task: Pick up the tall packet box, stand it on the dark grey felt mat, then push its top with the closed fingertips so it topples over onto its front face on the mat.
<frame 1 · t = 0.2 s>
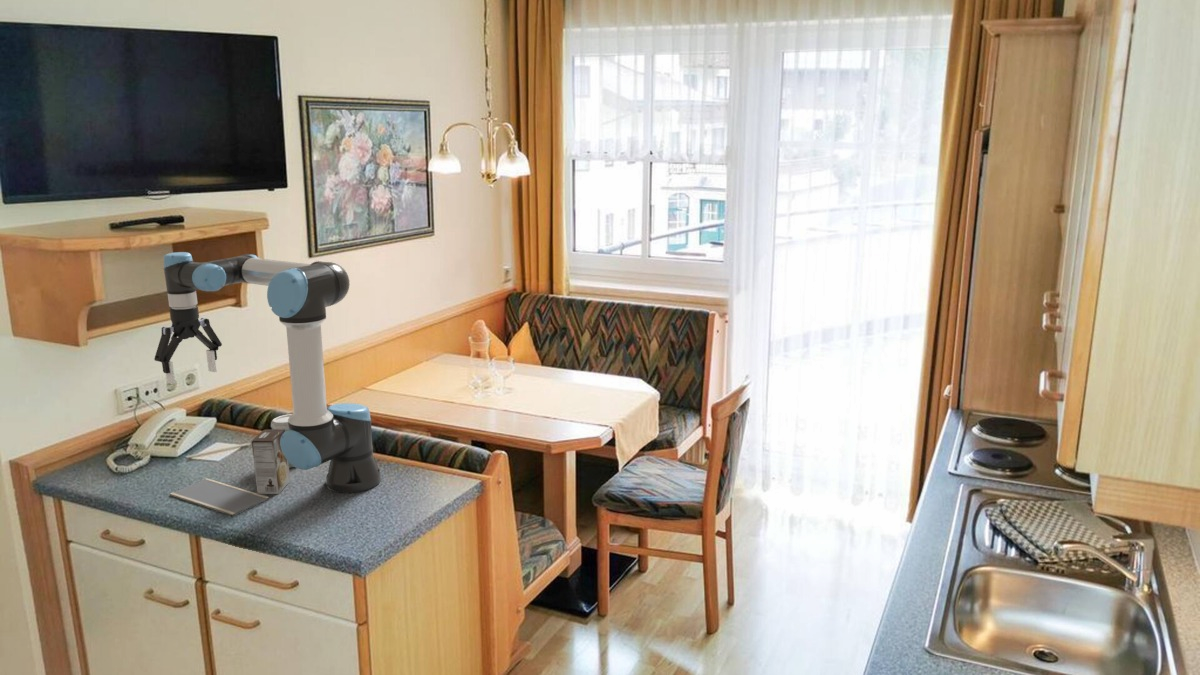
hand: (192, 377, 265), 28 cm above the worktop, fingers open, 13 cm apart
disposable coffee cup: (293, 464, 273), on the worktop
felt mat: (219, 497, 250), on the worktop
coffee box: (274, 488, 256), on the worktop
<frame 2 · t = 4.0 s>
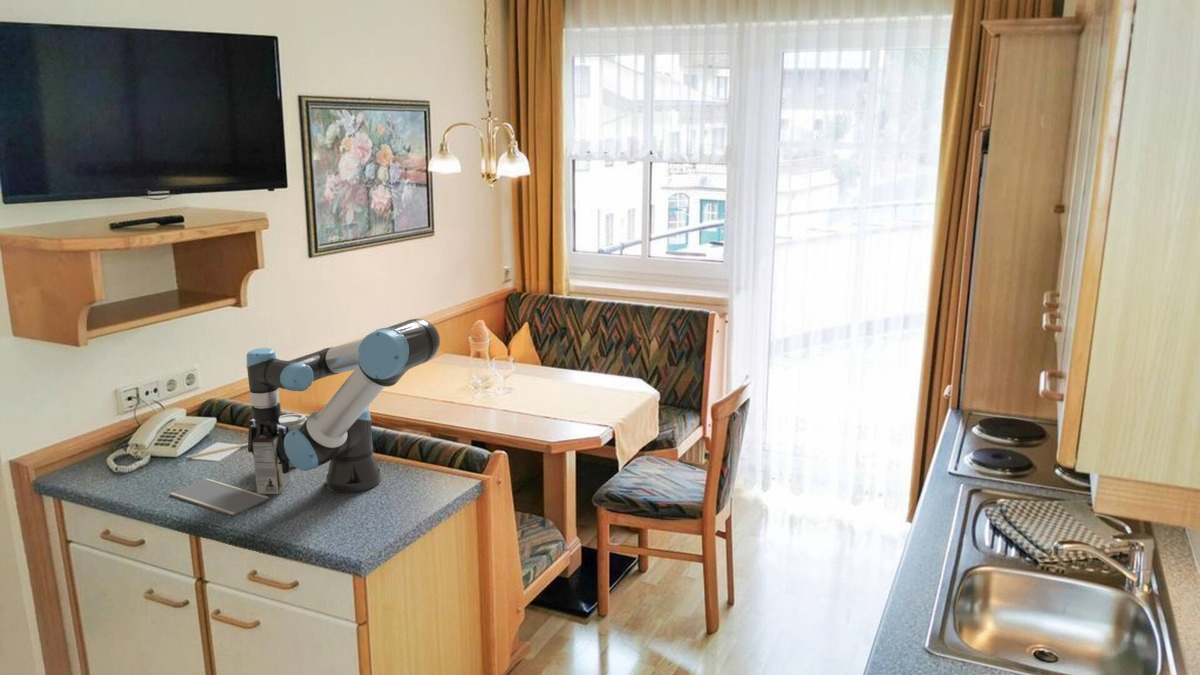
hand: (273, 479, 256), 2 cm above the worktop, fingers closed on coffee box, 9 cm apart
coffee box: (274, 488, 256), on the worktop, touching gripper
everything else where it was.
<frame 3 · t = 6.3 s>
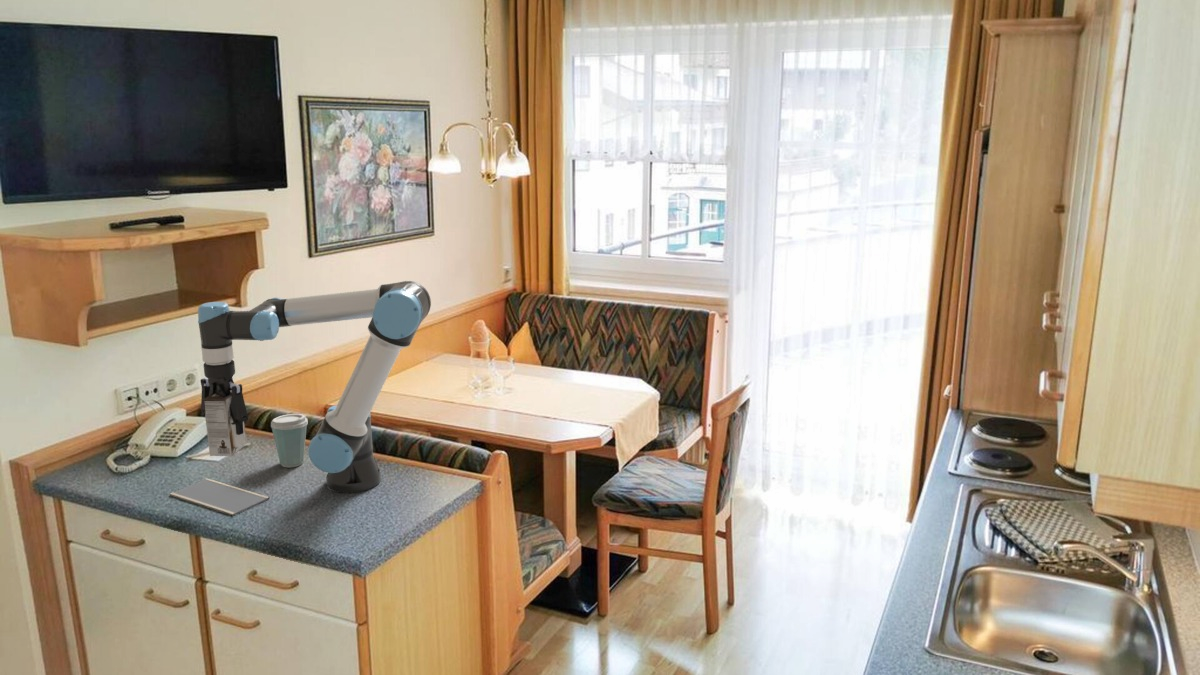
hand: (227, 441, 243), 17 cm above the worktop, fingers closed on coffee box, 8 cm apart
coffee box: (228, 450, 244), point 15 cm above the worktop, touching gripper
everything else where it was.
when the fingers open (4 cm above the worktop, at t = 8.7 s): coffee box drops 1 cm, resting on felt mat.
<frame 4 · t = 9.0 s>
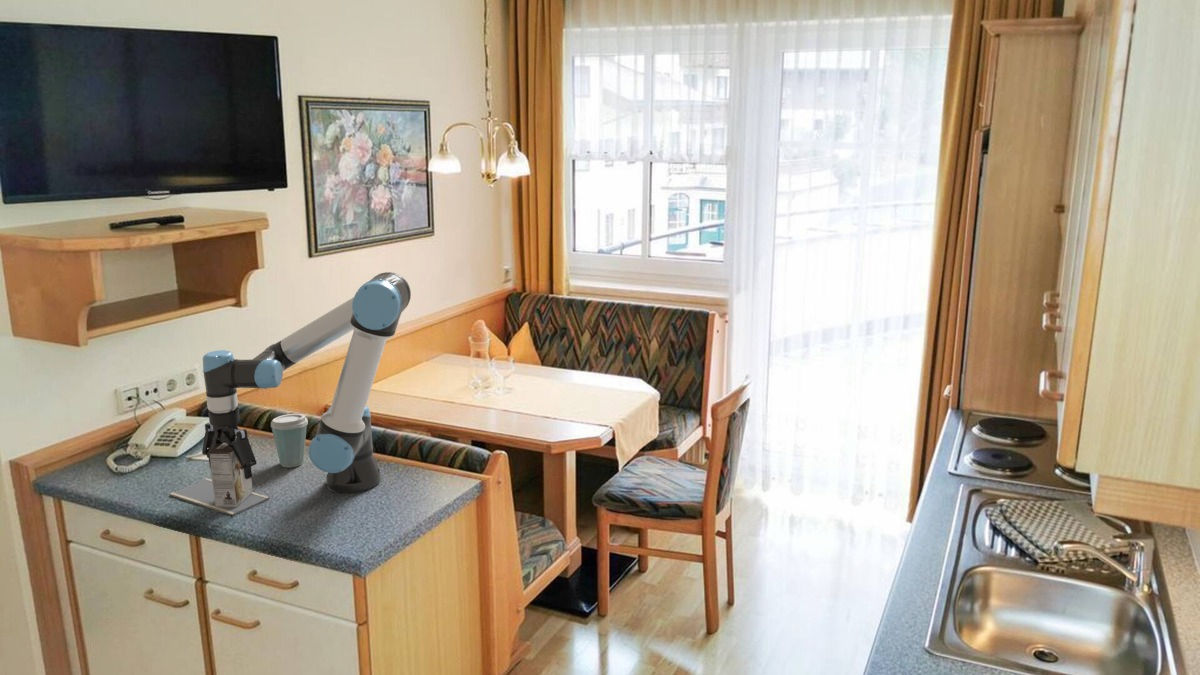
hand: (232, 484, 246), 5 cm above the worktop, fingers open, 11 cm apart
coffee box: (234, 500, 247), resting on felt mat
everything else where it was.
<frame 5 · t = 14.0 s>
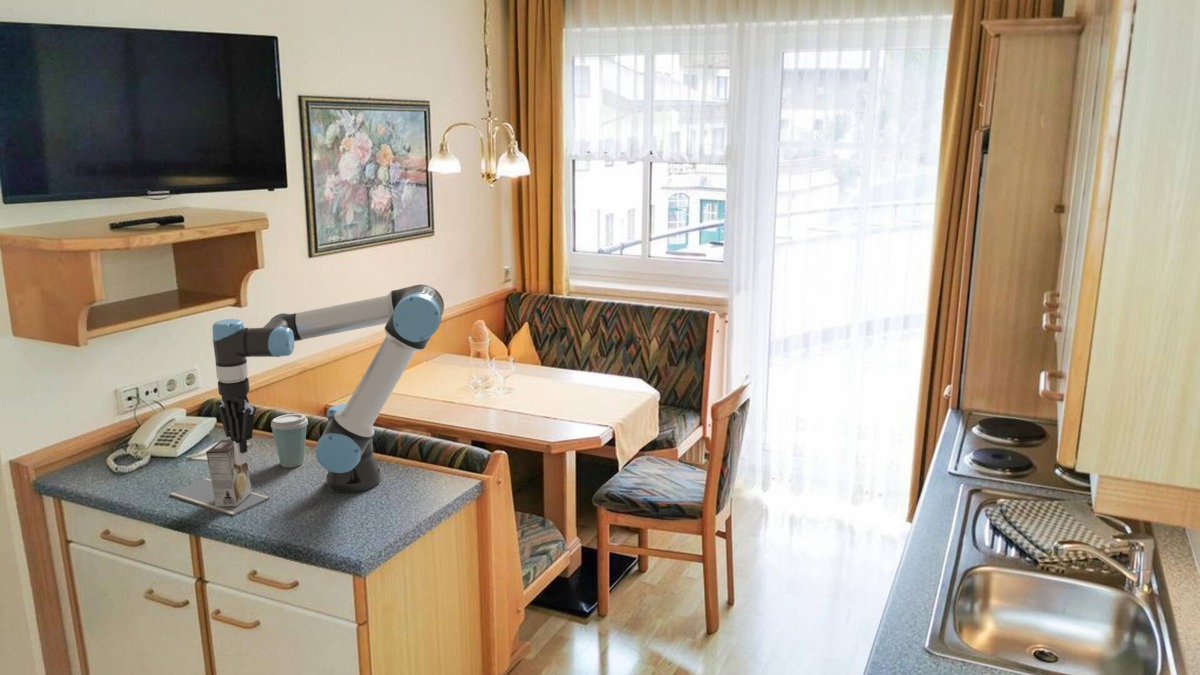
hand: (241, 463, 241), 13 cm above the worktop, fingers closed
nothing on the worktop moved.
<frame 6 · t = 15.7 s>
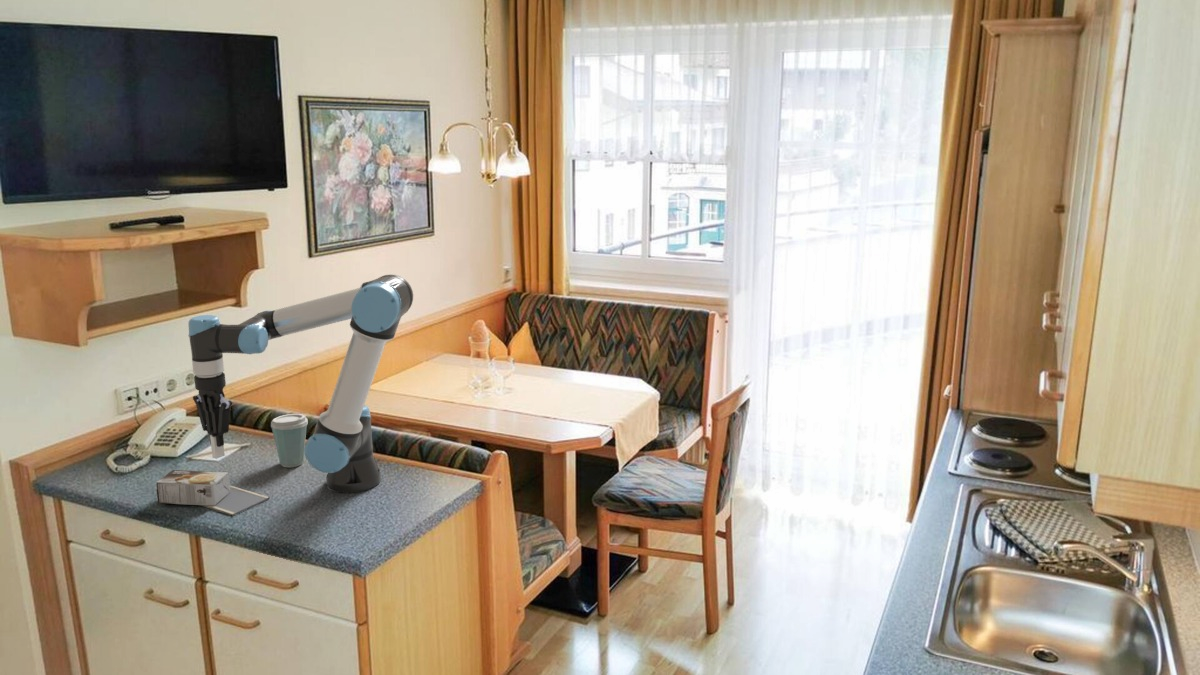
hand: (218, 456, 246), 13 cm above the worktop, fingers closed
coffee box: (222, 488, 247), point 4 cm above the worktop, touching felt mat
everything else where it was.
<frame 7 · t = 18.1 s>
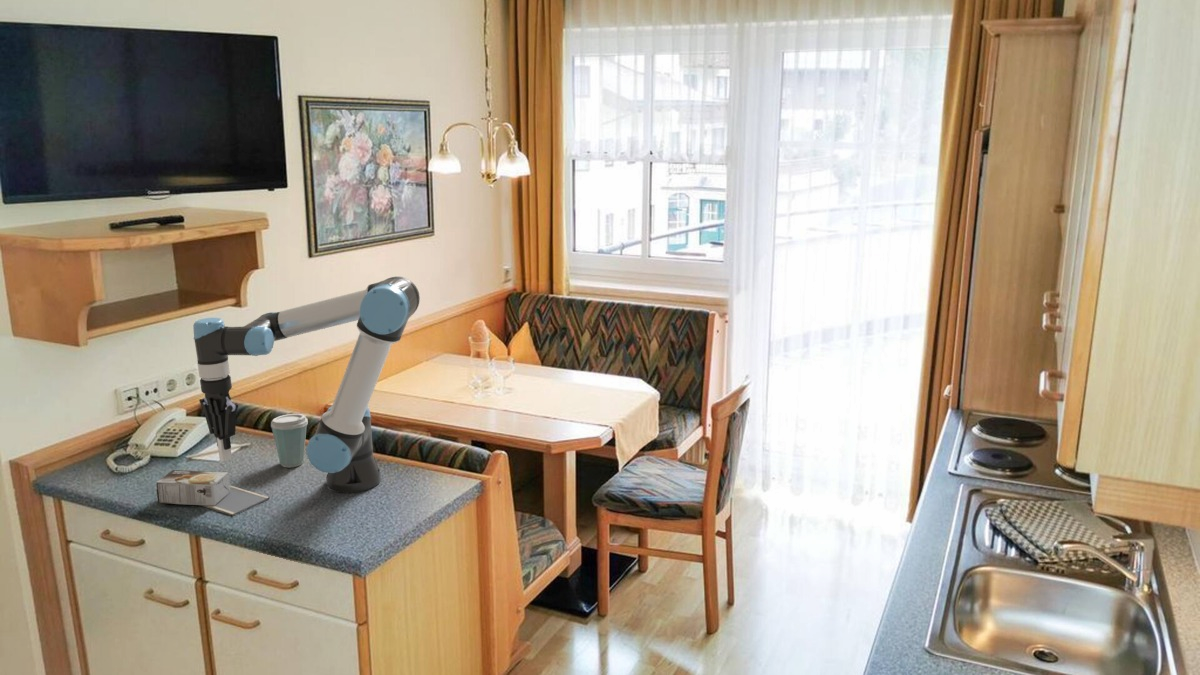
hand: (225, 459, 245), 12 cm above the worktop, fingers closed
nothing on the worktop moved.
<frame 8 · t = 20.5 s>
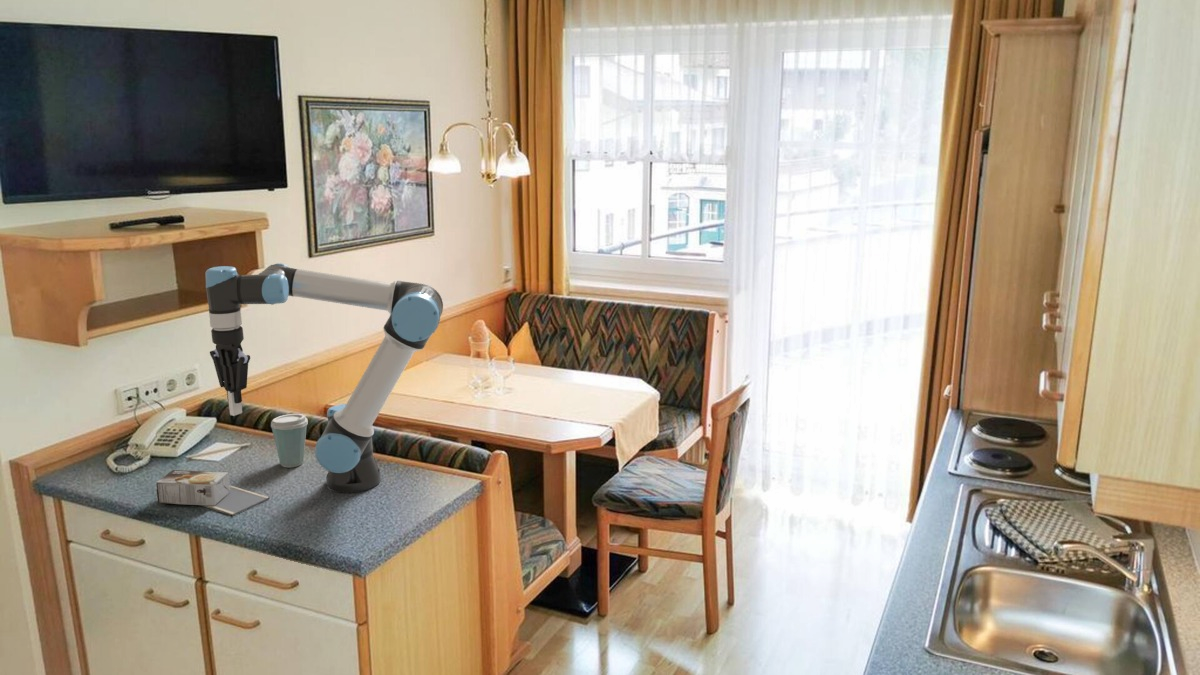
hand: (236, 413, 238), 26 cm above the worktop, fingers closed
nothing on the worktop moved.
at the end: coffee box tilted 89°; coffee box inside the target area (5.4 cm from its centre), point 3.7 cm above the worktop; the gripper is holding nothing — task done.
